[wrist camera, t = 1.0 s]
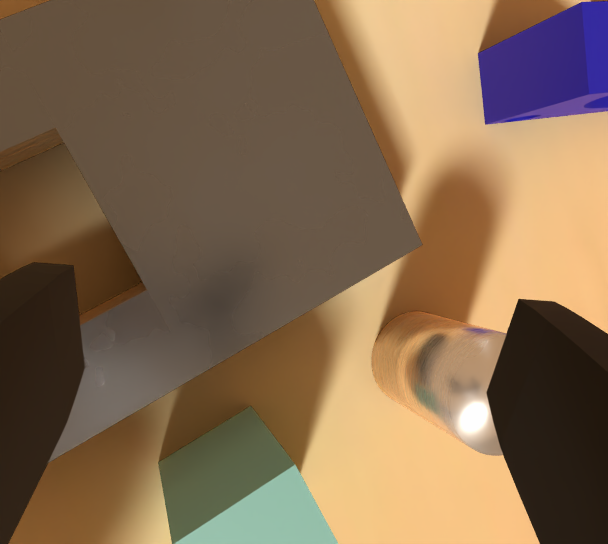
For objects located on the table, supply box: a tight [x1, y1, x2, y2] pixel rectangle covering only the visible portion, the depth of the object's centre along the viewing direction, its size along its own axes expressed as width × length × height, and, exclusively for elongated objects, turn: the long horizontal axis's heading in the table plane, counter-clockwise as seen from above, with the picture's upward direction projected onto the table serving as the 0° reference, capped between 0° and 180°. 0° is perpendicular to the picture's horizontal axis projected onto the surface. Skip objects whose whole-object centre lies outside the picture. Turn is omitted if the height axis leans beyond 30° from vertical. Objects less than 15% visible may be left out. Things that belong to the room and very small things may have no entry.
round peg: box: [372, 311, 506, 456], centre depth 22 cm, size 4×4×6 cm
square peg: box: [158, 406, 338, 544], centre depth 20 cm, size 4×4×6 cm
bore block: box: [0, 0, 422, 463], centre depth 19 cm, size 18×12×3 cm, turn 116°
